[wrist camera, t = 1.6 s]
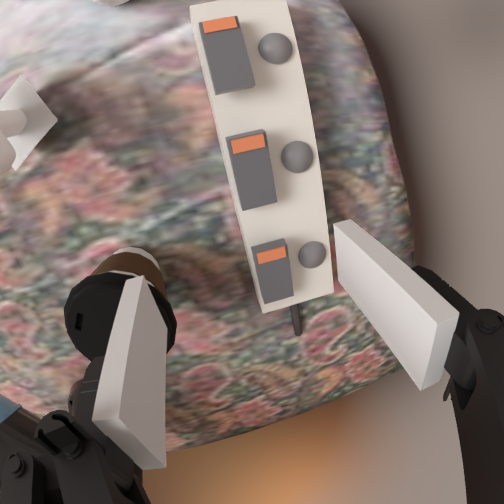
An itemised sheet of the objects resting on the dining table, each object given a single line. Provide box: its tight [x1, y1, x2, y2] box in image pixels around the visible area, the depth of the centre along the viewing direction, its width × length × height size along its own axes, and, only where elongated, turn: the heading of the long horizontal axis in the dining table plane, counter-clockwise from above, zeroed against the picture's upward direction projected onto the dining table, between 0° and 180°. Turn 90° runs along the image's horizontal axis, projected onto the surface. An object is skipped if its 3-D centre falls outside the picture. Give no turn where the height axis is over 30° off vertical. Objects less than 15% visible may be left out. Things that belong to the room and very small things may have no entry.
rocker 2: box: [251, 238, 294, 304], centre depth 33 cm, size 7×3×1 cm, turn 11°
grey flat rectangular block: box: [199, 16, 256, 95], centre depth 23 cm, size 7×3×1 cm, turn 12°
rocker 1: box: [225, 129, 277, 211], centre depth 28 cm, size 7×3×1 cm, turn 11°
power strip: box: [190, 0, 334, 336], centre depth 33 cm, size 42×9×4 cm, turn 12°
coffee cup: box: [64, 247, 177, 361], centre depth 31 cm, size 11×11×12 cm
